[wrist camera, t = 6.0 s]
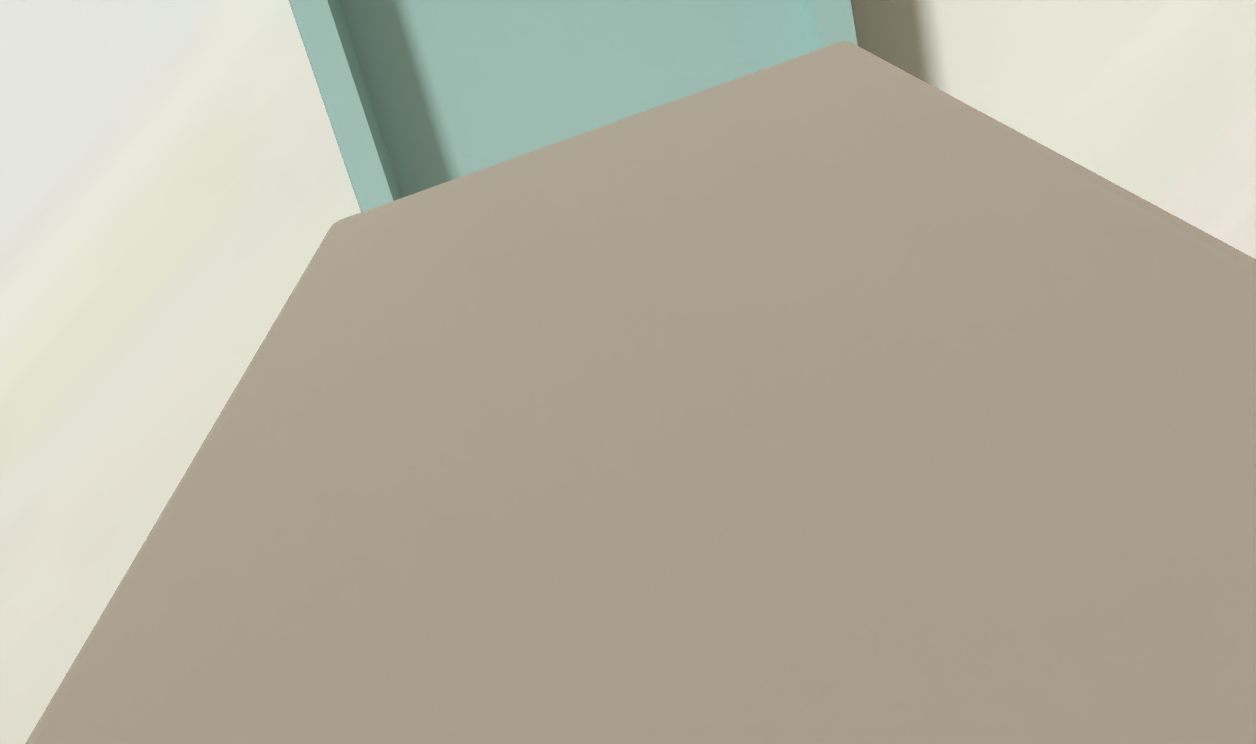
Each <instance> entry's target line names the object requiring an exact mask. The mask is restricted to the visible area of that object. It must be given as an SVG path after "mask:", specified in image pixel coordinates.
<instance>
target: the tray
mask: <svg viewBox="0 0 1256 744" xmlns="http://www.w3.org/2000/svg"><path fill="white" fill-rule="evenodd" d="M289 3H290V6H291V9H292V12H293V14H294V17H295V20H296V23H297V26H298V29H299V32H300V35H301V38H302V41H303V44H304V47H305V49H306V52H307V55H308V58H309V61H310V64H311V67H312V70H313V73H314V76H315V79H316V82H317V85H318V87H319V90H320V93H321V96H322V99H323V102H324V105H325V108H326V111H327V114H328V117H329V120H330V122H331V125H332V128H333V131H334V134H335V137H336V140H337V143H338V146H339V149H340V152H341V155H342V158H343V160H344V163H345V166H346V169H347V172H348V175H349V178H350V181H351V184H352V187H353V190H354V193H355V195H356V198H357V201H358V204H359V207H360V210H361V212H364V211H367V210H370V209H373V208H375V207H378V206H381V205H384V204H387V203H389V202H392V201H395V200H398V199H401V198H403V197H406V196H409V195H412V194H415V193H417V192H420V191H423V190H426V189H428V188H431V187H434V186H437V185H440V184H442V183H445V182H448V181H451V180H454V179H456V178H459V177H462V176H465V175H468V174H470V173H473V172H476V171H479V170H482V169H484V168H487V167H490V166H493V165H496V164H498V163H501V162H504V161H507V160H510V159H512V158H515V157H518V156H521V155H524V154H526V153H529V152H532V151H535V150H538V149H540V148H543V147H546V146H549V145H552V144H554V143H557V142H560V141H563V140H566V139H568V138H571V137H574V136H577V135H580V134H582V133H585V132H588V131H591V130H594V129H596V128H599V127H602V126H605V125H608V124H610V123H613V122H616V121H619V120H622V119H624V118H627V117H630V116H633V115H636V114H638V113H641V112H644V111H647V110H650V109H652V108H655V107H658V106H661V105H664V104H667V103H669V102H672V101H675V100H678V99H681V98H683V97H686V96H689V95H692V94H695V93H697V92H700V91H703V90H706V89H709V88H711V87H714V86H717V85H720V84H723V83H725V82H728V81H731V80H734V79H737V78H739V77H742V76H745V75H748V74H751V73H753V72H756V71H759V70H762V69H765V68H767V67H770V66H773V65H776V64H779V63H781V62H784V61H787V60H790V59H793V58H795V57H798V56H801V55H804V54H807V53H809V52H812V51H815V50H818V49H821V48H823V47H826V46H829V45H832V44H835V43H837V42H842V41H849V42H851V43H853V44H855V45H857V46H858V43H857V37H856V31H855V25H854V19H853V13H852V6H851V0H289Z"/></svg>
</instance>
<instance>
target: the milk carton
mask: <svg viewBox="0 0 1256 744" xmlns="http://www.w3.org/2000/svg"><path fill="white" fill-rule="evenodd" d="M26 744H1256V259H1254V258H1252V257H1250V256H1248V255H1246V254H1245V253H1243V252H1241V251H1239V250H1237V249H1235V248H1233V247H1232V246H1230V245H1228V244H1226V243H1224V242H1222V241H1220V240H1218V239H1217V238H1215V237H1213V236H1211V235H1209V234H1207V233H1205V232H1204V231H1202V230H1200V229H1198V228H1196V227H1194V226H1192V225H1191V224H1189V223H1187V222H1185V221H1183V220H1181V219H1179V218H1177V217H1176V216H1174V215H1172V214H1170V213H1168V212H1166V211H1164V210H1163V209H1161V208H1159V207H1157V206H1155V205H1153V204H1151V203H1150V202H1148V201H1146V200H1144V199H1142V198H1140V197H1138V196H1136V195H1135V194H1133V193H1131V192H1129V191H1127V190H1125V189H1123V188H1122V187H1120V186H1118V185H1116V184H1114V183H1112V182H1110V181H1109V180H1107V179H1105V178H1103V177H1101V176H1099V175H1097V174H1096V173H1094V172H1092V171H1090V170H1088V169H1086V168H1084V167H1082V166H1081V165H1079V164H1077V163H1075V162H1073V161H1071V160H1069V159H1068V158H1066V157H1064V156H1062V155H1060V154H1058V153H1056V152H1055V151H1053V150H1051V149H1049V148H1047V147H1045V146H1043V145H1041V144H1040V143H1038V142H1036V141H1034V140H1032V139H1030V138H1028V137H1027V136H1025V135H1023V134H1021V133H1019V132H1017V131H1015V130H1014V129H1012V128H1010V127H1008V126H1006V125H1004V124H1002V123H1001V122H999V121H997V120H995V119H993V118H991V117H989V116H987V115H986V114H984V113H982V112H980V111H978V110H976V109H974V108H973V107H971V106H969V105H967V104H965V103H963V102H961V101H960V100H958V99H956V98H954V97H952V96H950V95H948V94H946V93H945V92H943V91H941V90H939V89H937V88H935V87H933V86H932V85H930V84H928V83H926V82H924V81H922V80H920V79H919V78H917V77H915V76H913V75H911V74H909V73H907V72H905V71H904V70H902V69H900V68H898V67H896V66H894V65H892V64H891V63H889V62H887V61H885V60H883V59H881V58H879V57H878V56H876V55H874V54H872V53H870V52H868V51H866V50H865V49H863V48H861V47H859V46H857V45H855V44H853V43H851V42H849V41H842V42H837V43H835V44H832V45H829V46H826V47H823V48H821V49H818V50H815V51H812V52H809V53H807V54H804V55H801V56H798V57H795V58H793V59H790V60H787V61H784V62H781V63H779V64H776V65H773V66H770V67H767V68H765V69H762V70H759V71H756V72H753V73H751V74H748V75H745V76H742V77H739V78H737V79H734V80H731V81H728V82H725V83H723V84H720V85H717V86H714V87H711V88H709V89H706V90H703V91H700V92H697V93H695V94H692V95H689V96H686V97H683V98H681V99H678V100H675V101H672V102H669V103H667V104H664V105H661V106H658V107H655V108H652V109H650V110H647V111H644V112H641V113H638V114H636V115H633V116H630V117H627V118H624V119H622V120H619V121H616V122H613V123H610V124H608V125H605V126H602V127H599V128H596V129H594V130H591V131H588V132H585V133H582V134H580V135H577V136H574V137H571V138H568V139H566V140H563V141H560V142H557V143H554V144H552V145H549V146H546V147H543V148H540V149H538V150H535V151H532V152H529V153H526V154H524V155H521V156H518V157H515V158H512V159H510V160H507V161H504V162H501V163H498V164H496V165H493V166H490V167H487V168H484V169H482V170H479V171H476V172H473V173H470V174H468V175H465V176H462V177H459V178H456V179H454V180H451V181H448V182H445V183H442V184H440V185H437V186H434V187H431V188H428V189H426V190H423V191H420V192H417V193H415V194H412V195H409V196H406V197H403V198H401V199H398V200H395V201H392V202H389V203H387V204H384V205H381V206H378V207H375V208H373V209H370V210H367V211H364V212H361V213H359V214H356V215H353V216H350V217H347V218H345V219H342V220H339V221H338V222H336V223H334V224H333V225H332V226H331V228H330V229H329V231H328V233H327V234H326V236H325V238H324V239H323V241H322V243H321V244H320V246H319V248H318V250H317V251H316V253H315V255H314V256H313V258H312V260H311V261H310V263H309V265H308V266H307V268H306V270H305V272H304V273H303V275H302V277H301V278H300V280H299V282H298V283H297V285H296V287H295V288H294V290H293V292H292V294H291V295H290V297H289V299H288V300H287V302H286V304H285V305H284V307H283V309H282V310H281V312H280V314H279V316H278V317H277V319H276V321H275V322H274V324H273V326H272V327H271V329H270V331H269V332H268V334H267V336H266V338H265V339H264V341H263V343H262V344H261V346H260V348H259V349H258V351H257V353H256V354H255V356H254V358H253V360H252V361H251V363H250V365H249V366H248V368H247V370H246V371H245V373H244V375H243V376H242V378H241V380H240V382H239V383H238V385H237V387H236V388H235V390H234V392H233V393H232V395H231V397H230V398H229V400H228V402H227V404H226V405H225V407H224V409H223V410H222V412H221V414H220V415H219V417H218V419H217V420H216V422H215V424H214V426H213V427H212V429H211V431H210V432H209V434H208V436H207V437H206V439H205V441H204V442H203V444H202V446H201V448H200V449H199V451H198V453H197V454H196V456H195V458H194V459H193V461H192V463H191V464H190V466H189V468H188V470H187V471H186V473H185V475H184V476H183V478H182V480H181V481H180V483H179V485H178V486H177V488H176V490H175V492H174V493H173V495H172V497H171V498H170V500H169V502H168V503H167V505H166V507H165V508H164V510H163V512H162V514H161V515H160V517H159V519H158V520H157V522H156V524H155V525H154V527H153V529H152V530H151V532H150V534H149V536H148V537H147V539H146V541H145V542H144V544H143V546H142V547H141V549H140V551H139V552H138V554H137V556H136V558H135V559H134V561H133V563H132V564H131V566H130V568H129V569H128V571H127V573H126V574H125V576H124V578H123V580H122V581H121V583H120V585H119V586H118V588H117V590H116V591H115V593H114V595H113V596H112V598H111V600H110V602H109V603H108V605H107V607H106V608H105V610H104V612H103V613H102V615H101V617H100V618H99V620H98V622H97V624H96V625H95V627H94V629H93V630H92V632H91V634H90V635H89V637H88V639H87V640H86V642H85V644H84V646H83V647H82V649H81V651H80V652H79V654H78V656H77V657H76V659H75V661H74V662H73V664H72V666H71V668H70V669H69V671H68V673H67V674H66V676H65V678H64V679H63V681H62V683H61V684H60V686H59V688H58V690H57V691H56V693H55V695H54V696H53V698H52V700H51V701H50V703H49V705H48V706H47V708H46V710H45V712H44V713H43V715H42V717H41V718H40V720H39V722H38V723H37V725H36V727H35V728H34V730H33V732H32V734H31V735H30V737H29V739H28V740H27V742H26Z"/></svg>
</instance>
